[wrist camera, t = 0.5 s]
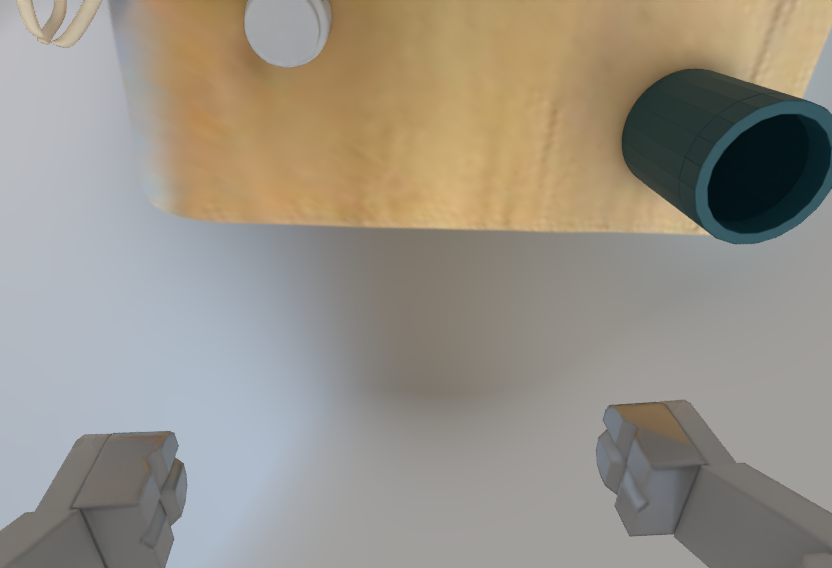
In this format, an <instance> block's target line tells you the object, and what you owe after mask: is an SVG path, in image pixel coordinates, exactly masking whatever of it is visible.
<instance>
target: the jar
mask: <svg viewBox="0 0 832 568" xmlns="http://www.w3.org/2000/svg"><path fill="white" fill-rule="evenodd" d="M622 149H623V155H624V159H625V161H626V164H627V166H628V167H629V169H630V170H631V172H632V173H633V174H634V175H635V176H636V177H637V178H639V179H640V180H641V181H642V182H643V183H644V184H646V185H647V186H648V187H650V188H651V189H652V190H654V191H655V192H656V193H658V194H659V195H660V196H661V197H663V198H664V199H665V200H667V201H668V202H669V203H671V204H672V205H673V206H675V207H676V208H677V209H678V210H680V211H681V212H682V213H684V214H685V215H686V216H688V217H689V218H690V219H692V220H693V221H694V222H695V223H697V224H698V225H699V226H701V227H702V228H703V229H705V230H706V231H707V232H709V233H710V234H711V235H713V236H714V237H715V238H717V239H720V240H723V241H726V242H729V243H732V244H755V243H760V242H763V241H766V240H769V239H773V238H776V237H777V236H780V235H782V234H784V233H785V232H787V231H789V230H790V229H792V228H794V227H796V226H797V225H798V224H800V223H801V222H803V221H804V220H805V219H806V218H807V217H808V216H809V215H810V214H811V213H813V211H815V210H816V209H817V207H819V205H820V204H821V203H822V201H823V200H824V199H825V197H826V196H827V194H828V193H829V192H830V190H831V189H832V115H831V113H830V112H829V111H828V110H827V109H826V108H824V107H822V106H820V105H817V104H815V103H812V102H810V101H807V100H804V99H801V98H798V97H794V96H791V95H788V94H785V93H781V92H778V91H775V90H772V89H768V88H765V87H762V86H759V85H755V84H752V83H749V82H745V81H742V80H739V79H736V78H732V77H729V76H726V75H723V74H719V73H716V72H713V71H709V70H703V69H687V70H683V71H678V72H676V73H673V74H670V75H668V76H666V77H664V78H662V79H661V80H659V81H658V82H656V83H655V84H654V85H652V86H651V87H650V88H649V89H648V90H647V91H646V92H645V93H644V94H643V95H642V96H641V97H640V98H639V99H638V101H637V102H636V104H635V105H634V107H633V108H632V110H631V112H630V114H629V116H628V118H627V121H626V123H625V127H624V131H623V137H622Z"/></svg>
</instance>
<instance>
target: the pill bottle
mask: <svg viewBox="0 0 832 568" xmlns="http://www.w3.org/2000/svg"><path fill="white" fill-rule="evenodd" d="M331 25H332V12H331V7H330V3H329V1H328V0H248V1H247V4H246V8H245V18H244V27H245V33H246V37H247V39H248V42H249V44H250V46H251V47H252V49H253V50H254V51H255V52H256V54H257V55H258V56H259V57H261V58H262V59H263V60H265V61H266V62H268V63H270V64H272V65H275V66H279V67H296V66H301V65H304V64H306V63H308V62H310V61H312V60H313V59H314V58H316V57H317V56H318V54H319V53H320V52H321V51H322V49H323V47H324V45H325V43H326V41H327V38H328V35H329V33H330V30H331Z"/></svg>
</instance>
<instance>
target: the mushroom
mask: <svg viewBox="0 0 832 568" xmlns="http://www.w3.org/2000/svg"><path fill="white" fill-rule="evenodd" d="M16 1H17V5H18V9H19V12H20V15H21V18H22V20H23V23H24V25H25V27H26V28H27V30H28V31H29V32H30V33H31V34H32V35H34V36H37V40H38V41H39V42H41V43H43V44H46V45H48V44H50V41H51V39H52V38H53V36H54V34H55V33H56V32H57V30H58V29H59V27H60V26H61V24H62V22H63V20H64V17H65V14H66V0H54V8H53V12H52V14H51V17H50V18H49V20H48V21H47V23H46V24H45V26H44V27H43V29H42V30H41V29H40V26H39V24H38V21H37V18H36V15H35V11H34V7H33V3H32V0H16ZM101 2H102V0H84V2H83V4H82V5H81V7H80V9H79V11H78V13H77V14H76V16H75V18H74V19H73V21H72V23H71V24H70V26H69V27H68V28H67V30H66V31H65V32H64V33H63V34H62V36H60V37H59V38H58V39H56V40H54V41H51V43H52V44H54V45H56V46H59V47H63V48H68V47H71V46H73V45H74V44H75V43H76V42H77V41H78V40H79V39H80V38H81V37H82V35H83V34H84V32H85V31H86V29H87V28H88V26H89V24H90V22H91V21H92V19H93V17H94V16H95V14H96V12H97V10H98V8H99V6H100V4H101Z"/></svg>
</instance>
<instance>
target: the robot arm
mask: <svg viewBox="0 0 832 568" xmlns="http://www.w3.org/2000/svg"><path fill="white" fill-rule="evenodd" d="M603 422H604V424H605V426H606V428H607V430H606V431H605V432H604V433H603V434H601V435H600V436H599V437H598V442H597V447H596V457H597V466H598V469H599V473H600V476H601V478H602V480H603V482H604V484H605V486H606V487H607V488H609V489H610V490H611V491H613V492H614V493H615V494H617V499H616V502H615V508H616V510H617V512H618V514H619V516H620V518H621V520H622V522H623V524H624V526H625V528H626V530H627V532H628V534H629V536H647V535H667V534H674V537H675V538H676V539H677V540H678V541H679V542H681V543H682V544H683V545H684V546H685V547H686V548H687V549H689V550H690V551H691V552H692V553H693V554H694V555H695V556H697V557H698V558H699V559H700V560H701V561H702V562H703V563H705V564H706V565H707V566H708V567H709V568H832V513H830V512H829V511H827V510H825V509H823V508H822V507H820V506H818V505H817V504H815V503H813V502H811V501H810V500H808V499H806V498H804V497H803V496H801V495H799V494H798V493H796V492H794V491H792V490H791V489H789V488H787V487H785V486H784V485H782V484H780V483H779V482H777V481H775V480H773V479H772V478H770V477H768V476H766V475H765V474H763V473H761V472H760V471H758V470H756V469H754V468H752V467H751V466H749V465H747V464H746V463H736V462H735V460H734V459H733V458H732V456H731V455H730V454H729V452H728V451H727V450H726V449H725V447H724V446H723V445H722V443H721V442H720V441H719V439H718V438H717V437H716V436H715V434H714V433H713V432H712V430H711V429H710V428H709V427H708V425H707V424H706V423H705V421H704V420H703V419H702V418H701V416H700V415H699V413H698V412H697V411H696V410H695V408H694V407H693V406H692V405H691V403H689V402H687V401H686V400H676V401H662V402H650V403H635V404H619V405H609V406H608V408H607V409H606V410H605V414H604V417H603ZM177 449H178V442H177V440H176V436H175V433H173V432H170V431H159V432H130V433H113V434H88V435H83V436H82V437H81V438H79V439H78V440H77V441H76V442H75V444H74V445H73V447H72V449H71V451H70V452H69V454H68V456H67V457H66V459H65V461H64V463H63V464H62V466H61V468H60V469H59V471H58V473H57V475H56V476H55V478H54V480H53V481H52V483H51V485H50V486H49V488H48V490H47V492H46V493H45V495H44V497H43V499H42V500H41V502H40V504H39V505H38V507H37V509H36V510H35V512H27V513H24V514H23V515H21V516H20V517H19V518H17V519H16V520H15V521H13V522H12V523H11V524H9V525H8V526H6V527H5V528H4V529H2V530H1V531H0V568H165V566H166V563H167V560H168V557H169V554H170V550H171V547H172V544H173V541H174V536H173V533H172V530H171V527H170V526H171V525H172V524H174V523H175V522H176V521H177V520H178V519H179V518H180V517H181V515H182V512H183V509H184V505H185V501H186V492H187V478H186V471H185V467H184V463H182V462H181V461H180V460H178V459H176V458H175V455H176V452H177Z"/></svg>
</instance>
